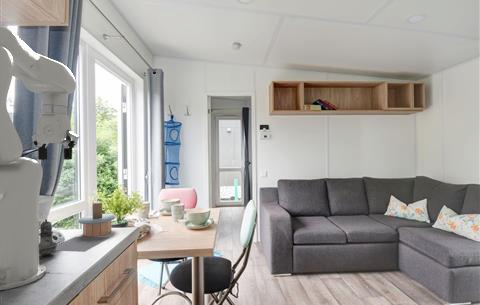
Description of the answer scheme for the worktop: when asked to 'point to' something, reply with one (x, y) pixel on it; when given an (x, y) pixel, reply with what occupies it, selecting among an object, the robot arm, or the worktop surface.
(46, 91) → the robot arm
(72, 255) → the worktop surface
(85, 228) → the bowl
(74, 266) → the worktop surface
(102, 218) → the lid
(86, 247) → the mat
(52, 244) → the grey stone tower figurine
